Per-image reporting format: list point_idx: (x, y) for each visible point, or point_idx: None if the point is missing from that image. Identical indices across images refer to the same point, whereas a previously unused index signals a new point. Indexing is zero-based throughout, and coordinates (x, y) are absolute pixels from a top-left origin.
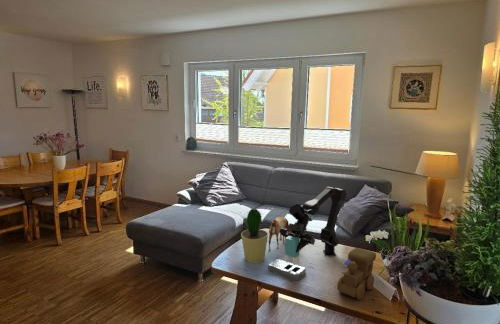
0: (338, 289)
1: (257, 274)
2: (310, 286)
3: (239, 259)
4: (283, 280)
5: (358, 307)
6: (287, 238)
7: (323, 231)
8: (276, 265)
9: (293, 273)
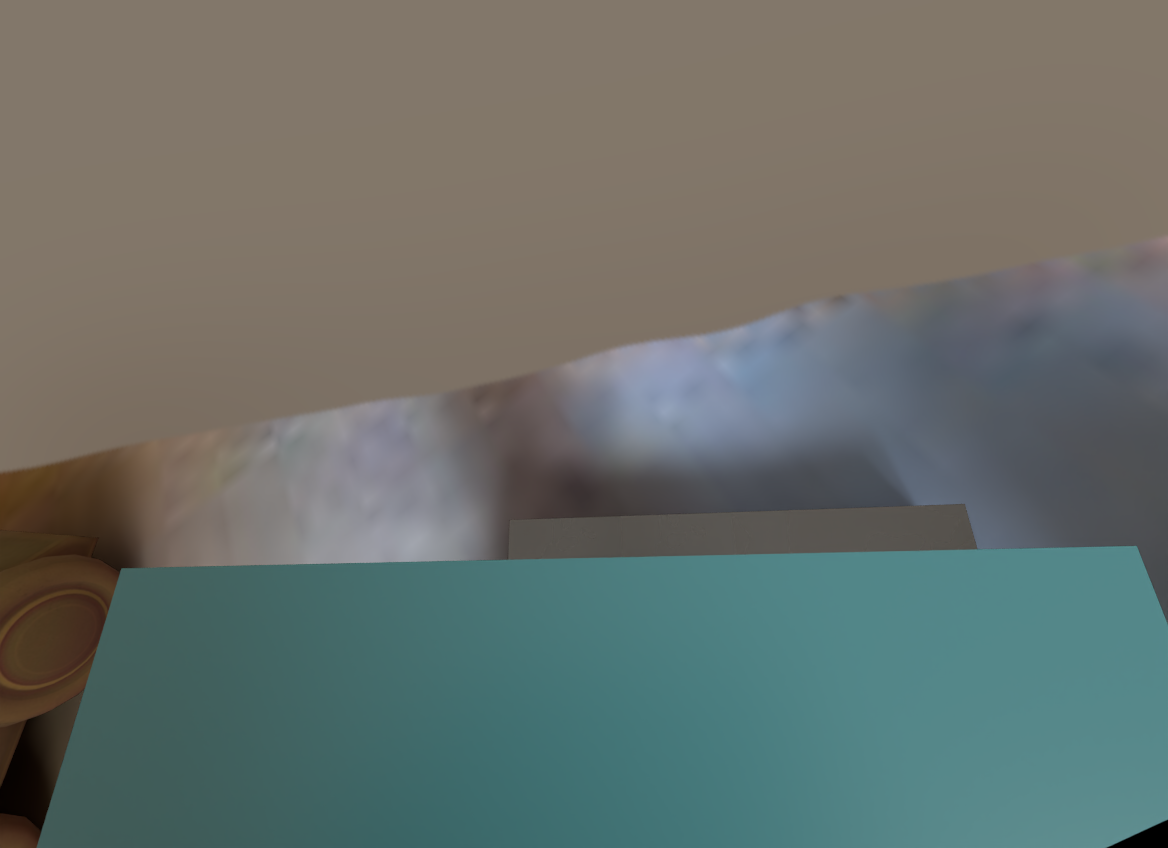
0: (99, 559)
1: (930, 368)
2: (381, 520)
3: None
4: (639, 446)
5: (15, 492)
6: (908, 618)
7: None
8: None
9: (560, 525)
